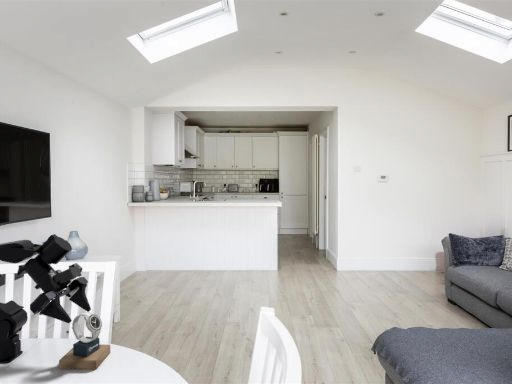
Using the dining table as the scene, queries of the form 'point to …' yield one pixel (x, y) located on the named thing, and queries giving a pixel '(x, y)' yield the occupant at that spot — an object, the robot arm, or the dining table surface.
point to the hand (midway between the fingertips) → (80, 316)
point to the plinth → (84, 359)
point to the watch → (86, 343)
